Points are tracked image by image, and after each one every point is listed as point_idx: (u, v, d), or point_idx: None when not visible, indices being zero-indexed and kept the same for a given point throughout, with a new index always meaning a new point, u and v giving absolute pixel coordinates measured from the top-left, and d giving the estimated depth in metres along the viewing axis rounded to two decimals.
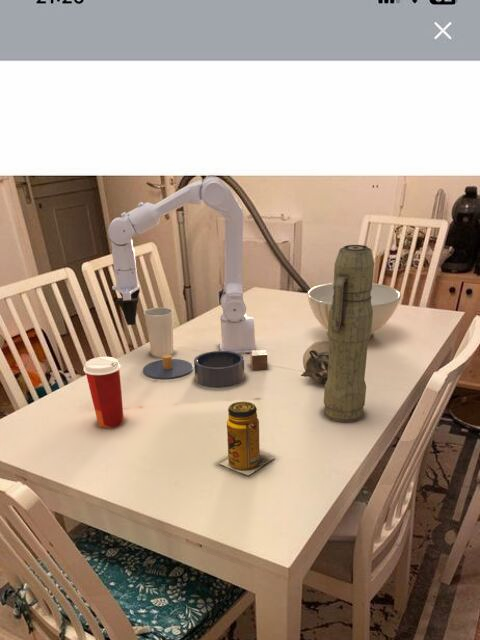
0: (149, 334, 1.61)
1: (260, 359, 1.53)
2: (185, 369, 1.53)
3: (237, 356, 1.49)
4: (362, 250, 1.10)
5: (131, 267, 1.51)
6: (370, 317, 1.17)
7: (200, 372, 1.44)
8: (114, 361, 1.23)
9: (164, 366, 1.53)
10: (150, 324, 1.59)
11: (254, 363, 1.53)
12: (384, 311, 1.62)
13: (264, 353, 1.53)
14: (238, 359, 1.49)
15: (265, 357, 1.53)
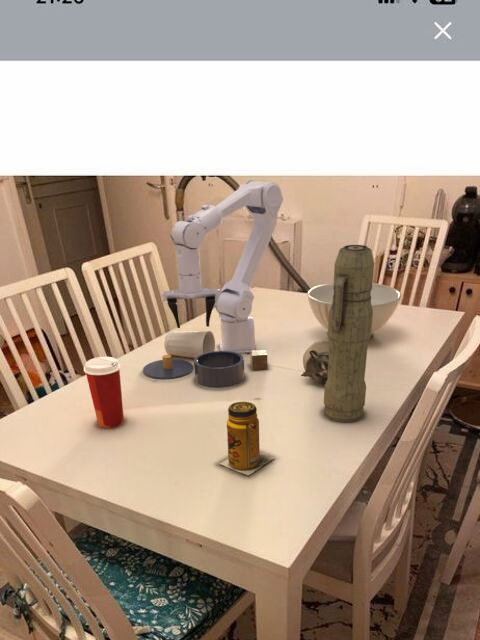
0: (184, 343, 1.58)
1: (260, 359, 1.53)
2: (185, 369, 1.53)
3: (237, 356, 1.49)
4: (362, 250, 1.10)
5: (200, 270, 1.47)
6: (370, 317, 1.17)
7: (200, 372, 1.44)
8: (114, 361, 1.23)
9: (164, 366, 1.53)
10: (194, 349, 1.57)
11: (254, 363, 1.53)
12: (384, 311, 1.62)
13: (264, 353, 1.53)
14: (238, 359, 1.49)
15: (265, 357, 1.53)
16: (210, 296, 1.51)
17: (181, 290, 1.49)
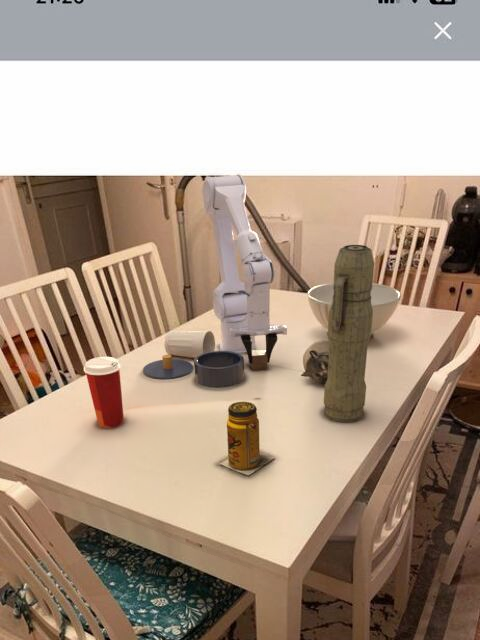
0: (184, 342, 1.58)
1: (260, 359, 1.53)
2: (185, 369, 1.53)
3: (237, 356, 1.49)
4: (362, 250, 1.10)
5: None
6: (370, 317, 1.17)
7: (200, 372, 1.44)
8: (114, 361, 1.23)
9: (164, 366, 1.53)
10: (194, 348, 1.57)
11: (254, 363, 1.53)
12: (384, 311, 1.62)
13: (264, 353, 1.53)
14: (238, 359, 1.49)
15: (265, 357, 1.53)
16: (272, 333, 1.51)
17: (250, 327, 1.48)
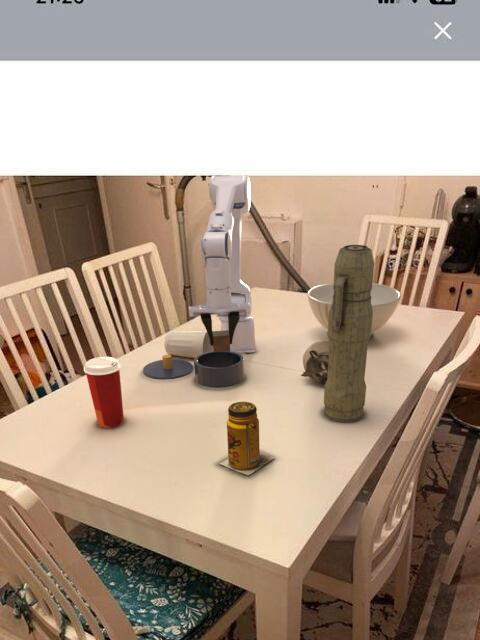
0: (184, 342, 1.58)
1: (222, 339, 1.42)
2: (185, 369, 1.53)
3: (237, 356, 1.49)
4: (362, 250, 1.10)
5: None
6: (370, 317, 1.17)
7: (200, 372, 1.44)
8: (114, 361, 1.23)
9: (164, 366, 1.53)
10: (194, 348, 1.57)
11: (215, 345, 1.43)
12: (384, 311, 1.62)
13: (226, 333, 1.43)
14: (238, 359, 1.49)
15: (227, 338, 1.42)
16: (234, 312, 1.40)
17: (209, 305, 1.38)
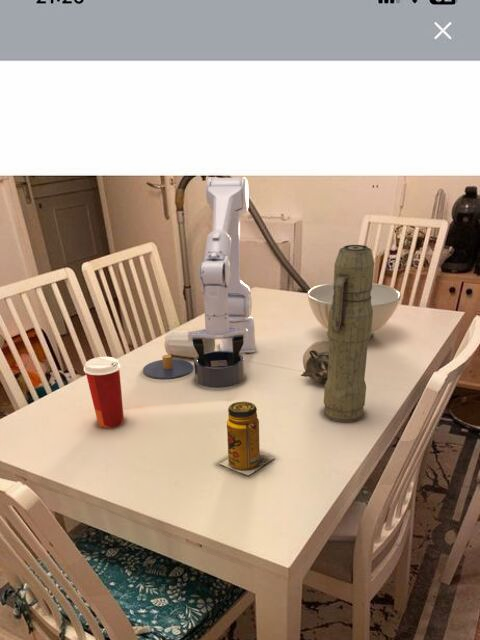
0: (184, 342, 1.58)
1: None
2: (185, 369, 1.53)
3: None
4: (362, 250, 1.10)
5: None
6: (370, 317, 1.17)
7: (200, 372, 1.44)
8: (114, 361, 1.23)
9: (164, 366, 1.53)
10: (194, 348, 1.57)
11: None
12: (384, 311, 1.62)
13: (224, 364, 1.46)
14: (238, 359, 1.49)
15: None
16: (238, 336, 1.43)
17: (208, 331, 1.41)
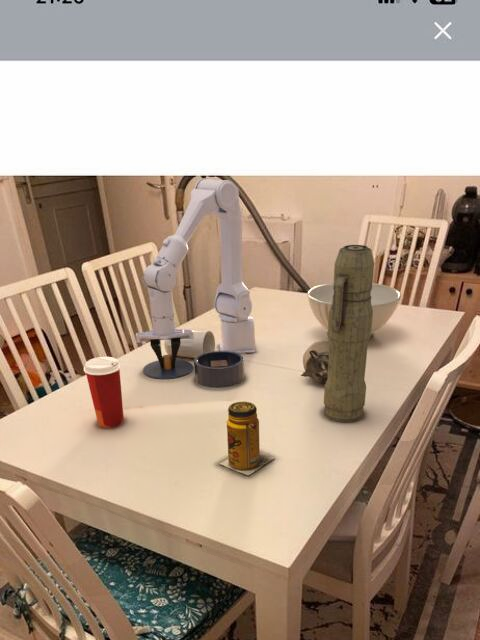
0: (184, 342, 1.58)
1: None
2: (185, 369, 1.53)
3: (237, 356, 1.49)
4: (362, 250, 1.10)
5: (173, 312, 1.46)
6: (370, 317, 1.17)
7: (200, 372, 1.44)
8: (114, 361, 1.23)
9: (164, 366, 1.53)
10: (194, 348, 1.57)
11: None
12: (384, 311, 1.62)
13: (224, 364, 1.46)
14: (238, 359, 1.49)
15: None
16: (175, 338, 1.50)
17: (154, 332, 1.47)
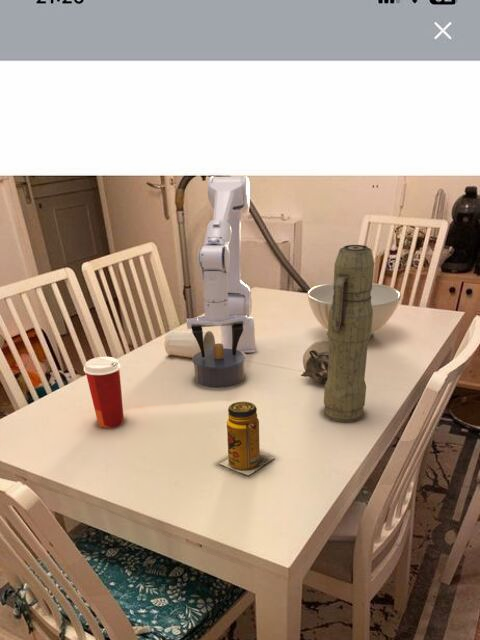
0: (184, 342, 1.58)
1: None
2: (237, 359, 1.45)
3: None
4: (362, 250, 1.10)
5: None
6: (370, 317, 1.17)
7: (200, 372, 1.44)
8: (114, 361, 1.23)
9: (215, 355, 1.45)
10: (194, 348, 1.57)
11: None
12: (384, 311, 1.62)
13: None
14: None
15: None
16: (237, 323, 1.41)
17: (207, 317, 1.39)
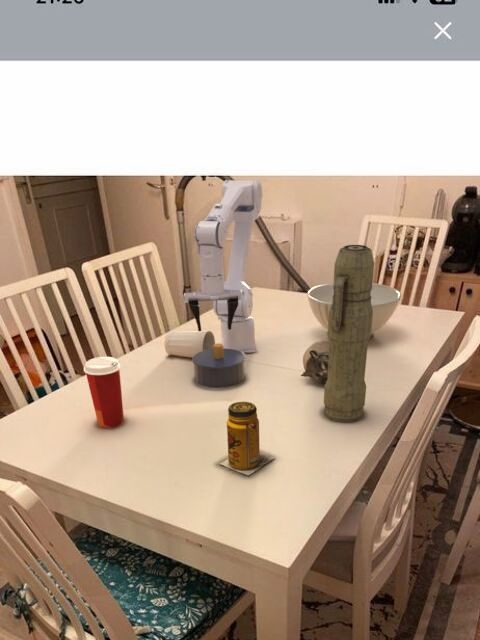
0: (184, 342, 1.58)
1: None
2: (237, 359, 1.45)
3: None
4: (362, 250, 1.10)
5: None
6: (370, 317, 1.17)
7: (200, 372, 1.44)
8: (114, 361, 1.23)
9: (215, 355, 1.45)
10: (194, 348, 1.57)
11: None
12: (384, 311, 1.62)
13: None
14: None
15: None
16: (233, 298, 1.47)
17: (203, 292, 1.44)
